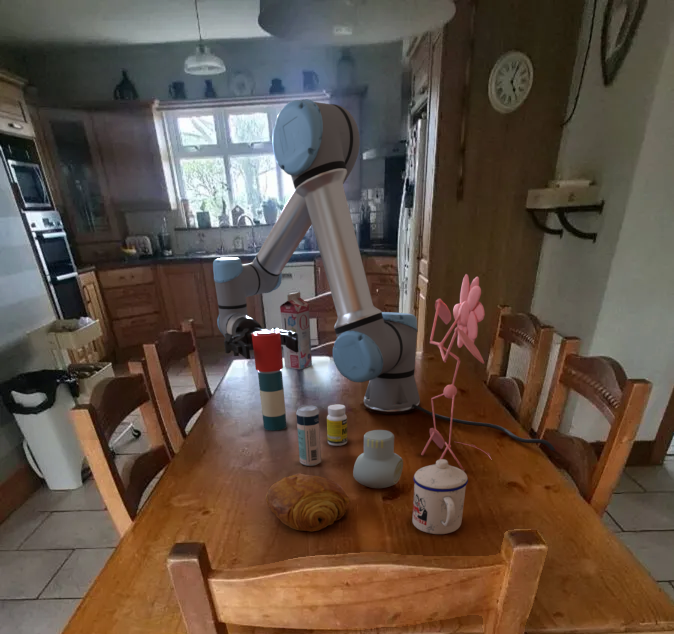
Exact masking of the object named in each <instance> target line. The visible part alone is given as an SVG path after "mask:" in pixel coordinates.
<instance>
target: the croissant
mask: <svg viewBox="0 0 674 634" xmlns="http://www.w3.org/2000/svg"><path fill="white" fill-rule="evenodd" d="M265 502H266V505H267V506H268V507H269V509H270V511H271V512H272V514H275V516H276V517H277V518H278V520H280V521H281V523H282V524H283V525H285V526H287V527H289V528H291V529H293V530H297V531H301V532H302V531H304V532H317V531H318V532H319V531H320V530H323V529H325V528H327V526H331V525H333V524H334V523H335V521H338V520H340V519H341V518H342V517H344V515H345V514H346V511H348V510H347V507H348V505H349V504H350V502H351V501H350V496H349V495H348V493H347V492H346V491H345V490H344V488H343V487H342V485H340V484H339V483H337V482H335V481H334V480H332V479H328V478H327V477H323V476H321V475H309V474H305V473H303V472H299V473H296V474H292V475H289V476H284V477H282V478H281V479H280V480H278V481H275V482H274V483H273V484H272V485H271V486H269V488H268V490H267V493H266V494H265Z"/></svg>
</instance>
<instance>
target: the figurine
mask: <svg viewBox="0 0 674 634" xmlns="http://www.w3.org/2000/svg"><path fill="white" fill-rule="evenodd" d="M481 296H482V288H481V286H480V277H479V276H475V278H473V279H472V281H471V283H470V278H469V274H467V273H465V275H464V277H463V279H462V283H461V288H460V293H459V303H456V304H454V306H453V310H452V313H451V310H450V308H449V306H448V305H447V304H446V303H445V302H444V301H443V300H442V298H437V299H436V300H435V303H434V310H435V314H434V319H433V324H432V329H431V332H430V338H429V344H430V345H434V346H437V348H438V349H439V351H440V355H441V358H442V361H443V363H447V360H448V358H449V355H450V356H451V357H452V358H454V359H455V360H456V361H457V362H456V366H455V371H454V374H453V379H452V383H451V384H447V385H446V386H445V387H444V388H443V393H441V394H438V395H435V396H433V397H431V399H430V401H431V409H432V411H431V412H432V413H433V416H432V419H433V427H430V428H429V436H430V437H429V439H428V440H427V442H426V444H425V446H424V448H423V449H422V452H421V453H420V455H421V456H424V455H425V453H426V451H427V450H428V448H429V445H430V444H431V442H432V441H433V443H435V445H436V446H437V447H438V448H439V449H440V450H442V449H443V448H444V446H446V447H445V448H444V450H443V452H442V454H441V456H440V457H439V459H444V457H445V456H446V454H447V452H448V451H449V453H450V454H451V456H452V457H453V459H454V461H456V463H457V464H458V466H459V468H460V469H461V470H462V471H464V472H465V468H464V467H463V466H462V464H461V462H460V461H459V459H458V458H457V456H456V454H455V453H454V451H453V449H451V448H452V445H451V443H452V442H451V441H452V429H453V422H452V420H453V418H454V405H455V398H456V395H457V394H458V389H457V387H456V386H455V382H456V380H457V379H456V378H457V375H458V372H459V369H460V365H461V359H460V357H459V356H457V355H456V354H455V353H454V352H452V351H451V350H452V348H453V345H454V342H455V340H456V338H457V343H456V344H457V348H458V349H461V348H462V347H463V346H465V348H466V349H467V351H469V352H470V354H471V355H472V356H473V357H474V358H475V359H476V360H477V361H478V362H479V363H481V364H482V365H484V364H485V361H484V358H483V356H482V355H481V352H480V350H479V349H478V347H477V346H476V344H475V341H476V339H477V338H478V333H479V325H478V324H479V323H481V322H482V321H483V320H484V319H485V315H486V313H485V312H486V311H485V307H484V305H483V304H482V302H481V301H480V300H481V299H480V298H481ZM452 314H453V319H454V322H453V323H452V325H451V326H450V328H449V329H448V330H447V332H446V333H445V335H444V337H443V339H442V340H441V341H439V342H438V341H434V336H435V330H436V326H437V322H438V317H439V318H440V319H441V321H442V322H443V323H444V325H448V324H449V323H450V322H451V321H452ZM456 325H457V326H456ZM453 330H454V333H453V335H452V338H451V340H450V343H449V345H448V348H447V347H445V346H444V345H445V343H446V340H447V339H448V337H449V336H450V335H451V333H452V331H453ZM442 396H444V397H445V398H447V400H448V399H449V400H451V399H452V400H451V410H450V418H451V421H449V423H450V424H449V438H448V443H447V441H445V439H444V437H443V435H442V433H440V431H439V430H438V429H437V427H436V417H435V415H434V413H435V407H434V406H435V405H434V400H435V399H438V398H440V397H442ZM455 443H458V444H461V445H466V446H469V447H473V448H475V449H478V450H480V451H481V452H483V453H485V454H486V455H487V456H488V457H489V459H492V458H491V456H490V454H489V453H488V452H487V451H484V450H483V449H481V448H479V447H477V446H476V445H475V444H468V443H464V442H459V441H455Z"/></svg>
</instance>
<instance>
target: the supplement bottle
mask: <svg viewBox="0 0 674 634" xmlns="http://www.w3.org/2000/svg"><path fill="white" fill-rule="evenodd" d="M326 428H327V430H326V434H327V437H326V438H327V444H328V445H330V446H333V447H334V446H336V447H337V446H339V447H341V446H344V445H346V444H347V443H348V416H347V414H346V406H345V405H344V404H339V403H337V404H330V405H328V406H327V415H326Z"/></svg>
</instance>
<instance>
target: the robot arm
mask: <svg viewBox="0 0 674 634" xmlns="http://www.w3.org/2000/svg"><path fill="white" fill-rule="evenodd" d="M271 139H272V140H271V143H272V144H271V145H272V150H273V151H272V152H273V156H274V159H275V161H276V164H277V165H278V167H279V168H280V170H282V171H283V172H284V173H285V174H286V175H289V176H290V177H291V181H292V185H293V187H294V189H293V191H292V193H291V195H290V196H289V198H288V200H287V202H286V203H285V205H284V207H283V209H282V211H281V212H280V214H279V216H278V218H277V219H276V221H275V223H274V224H273V226H272V227H271V229H270V231H269V233H268V234H267V236H266V238H265V240H264V242H263V244H261V245H262V246H261V247H260V249H259V251H258V252H257V254H256V255H255V257H254V259H253V260H252V262H250V263H242V260H241V258H239V257H220V258H219V257H218V258H216V259H214V260H213V262H212V270H213V282H214V285H215V292H216V298H217V299H216V300H217V307H218V308H217V309H218V316H217V319H216V321H217V323H216V324H217V328H218V330H219V332H220V333H221V334H222V335H223V337H224V340H223V346H224V352H225V354H230V353H232V352H233V357H240V355H241V356H242V357H244V358H245V359H246V360H250V359H251V351H254V349H253V341H252V333H253V332H256V331H261V330H270V329H267V328H263V327H262V325H261V324H260V323H259V322H258V321H257V320H256V319H254V318H252V317H251V316H249V314H248V303H247V298H248V297H253V296H257V295H262V294H269V293H271V292H273V291H275V290H278V288H280V286H281V284H282V280H283V273H282V272H283V270H284V269H285V267H286V265H287V264H288V262H289V260H290V259H291V258H292V256H293V255H294V253H295V251H296V250H297V248H298V247H299V245H300V243H301V242H302V241H303V239H304V238H305V236H306V234H307V233H308V231H309V230H310V228H311V227H312V229H313V232H314V236H315V240H316V243H317V247H318V250H319V255H320V258H321V262H322V265H323V268H324V269H323V270H324V272H325V276H326V279H327V283H328V287H329V290H330V294H331V297H332V301H333V305H334V309H335V312H336V315H337V319H336V322H335V324H334V327H333V329H334V333H335V336H336V339H335V341H334V343H333V344H334V345H333V347H332V359H333V363H334V365H335V367H336V369H337V371H338V372H339V373H340V374H341V375H342V376H343V377H344V378H346V379H347V380H349V381H351V382H354V383H365V382H368V384H367V387H366V391H365V394H364V397H363V408H364V409H365V410H367V411H369V412H371V413H375V414H379V415H380V414H381V415H402V414H408V413H411V412H415V411H420V412H422V413H425V414H426V415H428V416H430V417H433V411H430V410H428V409H426V408H423V407H421V406H420V405H421V404H420V403H421V400H420V394H419V389H418V386H417V382H416V377H415V373H416V372H415V371H416V370H415V369H416V355H417V339H418V338H417V337H418V336H417V335H418V329H419V328H418V319H417V317H416V315H414V314H412V313H406V312H394V311H392V312H391V311H382V310H381V309H380V308H377V306H375V305H374V304H373V299H372V295H371V291H370V287H369V283H368V279H367V275H366V271H365V268H364V267H365V266H364V263H363V260H362V256H361V252H360V251H361V250H360V247H359V243H358V239H357V235H356V231H355V228H354V227H355V226H354V223H353V219H352V215H351V212H350V208H349V204H348V200H347V195H346V192H345V187H344V184H345V182H346V181H347V179H348V177H349V176H350V175H351V172H352V171H353V169H354V166H355V164H356V162H357V159H358V156H359V151H360V145H361V143H360V139H361V138H360V130H359V127H358V124H357V123H356V120H355V118H354V116H353V115H352V114H351V113H350V112H349V111H348V110H347V108H345V107H343V106H341V105H339V104H335V103H324V102H319V101H318V102H317V101H315V100H314V101H313V100H311V99H301V100H300V99H295V100H292V101H290V102H288V103H287V104H285V105H284V106H283V107H282V108H281V110H280V111H279V112H278V114H277V116H276V118H275V124H274V127H273V129H272V137H271ZM271 330H276V331H280V335H281V346H283V345H286V347H287V348H289V349H290V350H292V351H294V352H298V333H296V332H292V331H285V330H282V329H279V328H278V327H273V328H272V329H271ZM434 415H435V419H439V420H442V421H447V422H450V421H451V417H448V416H445V415H441V414H438V413H435V412H434ZM452 423H457V424H461V425H467V426H475V427H485V428H490V429H495V430H499V431H501V432H503V433H505V434H506V435H508V436H509V437H510V438H511V439H514V440H515V441H517V442H519V443H524V444H542V445H544V446H546V447H548V449H549V450H550V451H554V452H555V451H556V449H555V447H554V445H553V444H552V443H551V442H549V441H548V440H546V439H541V438H523V437H520V436H518V435H516V434H514V433H512V431H510V430H509V429H507V428H506V427H503V426H501V425H497V424H494V423H488V422H478V421H469V420H463V419H460V418H459V419H458V418H454V417H453V420H452Z"/></svg>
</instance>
